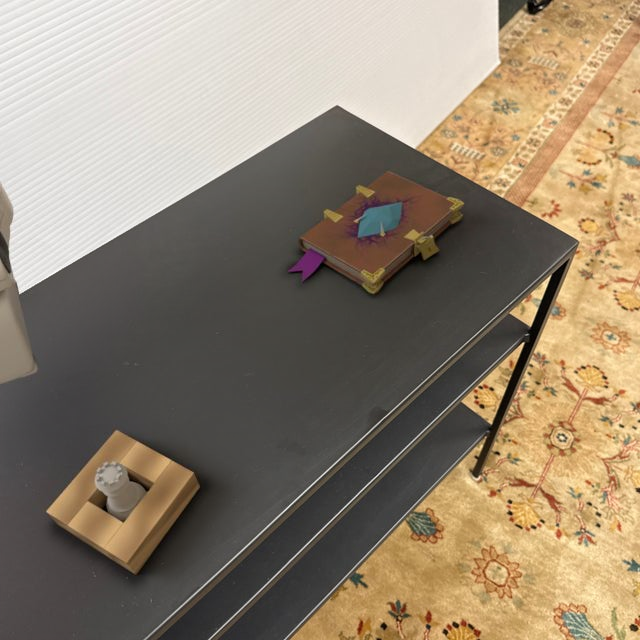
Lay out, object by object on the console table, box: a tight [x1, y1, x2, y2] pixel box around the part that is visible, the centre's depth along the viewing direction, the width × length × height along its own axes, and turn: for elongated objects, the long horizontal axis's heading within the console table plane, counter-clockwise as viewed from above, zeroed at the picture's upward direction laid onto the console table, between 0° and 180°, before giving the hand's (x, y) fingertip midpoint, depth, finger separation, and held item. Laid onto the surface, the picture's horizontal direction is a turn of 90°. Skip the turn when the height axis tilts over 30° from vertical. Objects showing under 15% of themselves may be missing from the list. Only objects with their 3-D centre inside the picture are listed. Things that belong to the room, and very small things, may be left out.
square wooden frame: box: [45, 429, 200, 575], centre depth 69 cm, size 11×11×4 cm
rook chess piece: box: [95, 461, 148, 523], centre depth 67 cm, size 4×4×8 cm
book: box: [286, 170, 465, 295], centre depth 92 cm, size 16×25×5 cm, turn 137°
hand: (18, 329), depth 57 cm, fingers open, 8 cm apart
